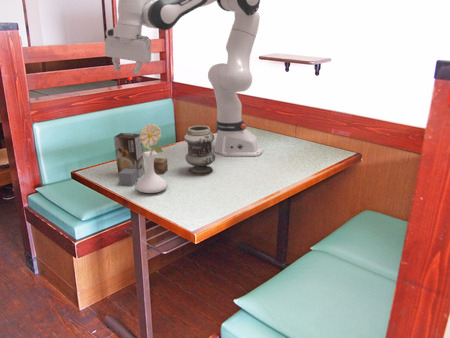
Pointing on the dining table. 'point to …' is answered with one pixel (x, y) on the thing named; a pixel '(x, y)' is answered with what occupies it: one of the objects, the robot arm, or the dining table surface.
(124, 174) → the slate grey block
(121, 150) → the coffee box
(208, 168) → the apothecary jar
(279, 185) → the dining table surface
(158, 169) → the walnut block
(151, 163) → the flower in vase
